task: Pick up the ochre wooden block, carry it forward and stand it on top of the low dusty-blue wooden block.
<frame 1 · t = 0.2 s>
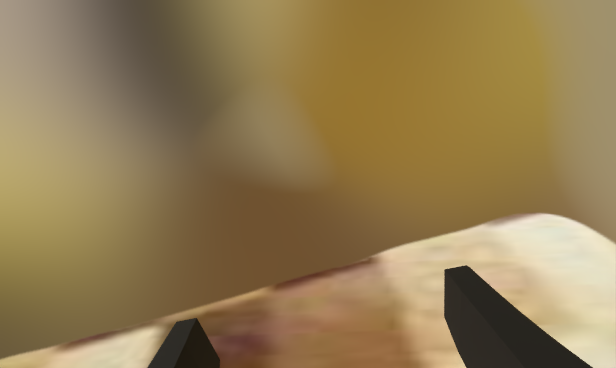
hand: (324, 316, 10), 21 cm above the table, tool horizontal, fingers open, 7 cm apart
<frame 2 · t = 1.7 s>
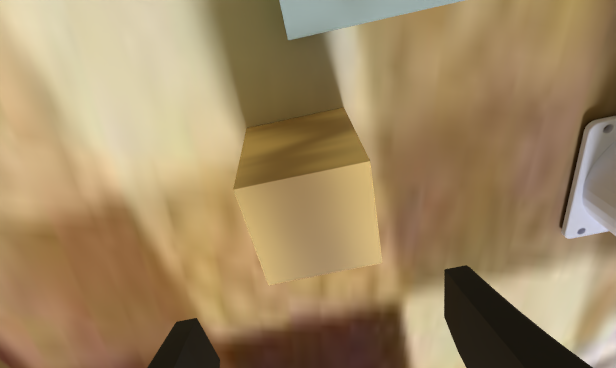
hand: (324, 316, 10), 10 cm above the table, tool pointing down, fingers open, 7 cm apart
ochre block: (304, 160, 19), on the table
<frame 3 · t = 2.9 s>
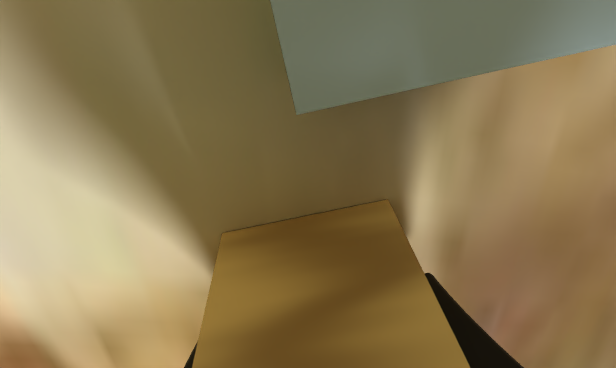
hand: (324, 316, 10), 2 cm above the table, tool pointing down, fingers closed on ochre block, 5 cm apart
ochre block: (319, 276, 12), on the table, touching gripper
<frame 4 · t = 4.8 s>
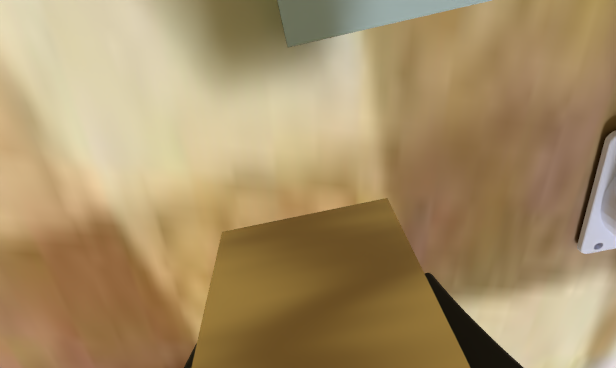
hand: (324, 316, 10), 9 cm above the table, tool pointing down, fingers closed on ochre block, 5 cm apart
ochre block: (319, 274, 12), point 7 cm above the table, touching gripper
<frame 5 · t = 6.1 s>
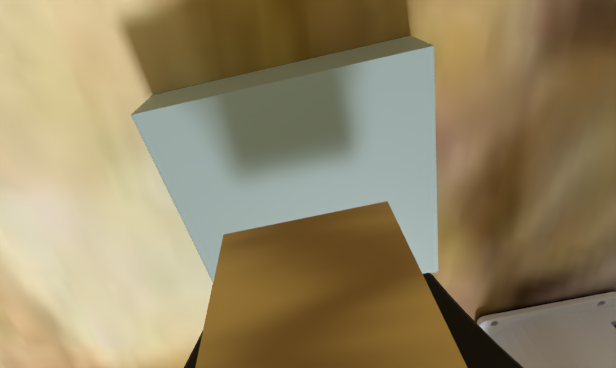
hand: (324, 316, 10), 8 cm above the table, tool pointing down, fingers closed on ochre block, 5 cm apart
base block: (305, 173, 18), on the table
ochre block: (319, 276, 12), point 7 cm above the table, touching gripper
when the fingers open (6 cm above the table, at t = 7.0 s): ochre block drops 2 cm, resting on base block.
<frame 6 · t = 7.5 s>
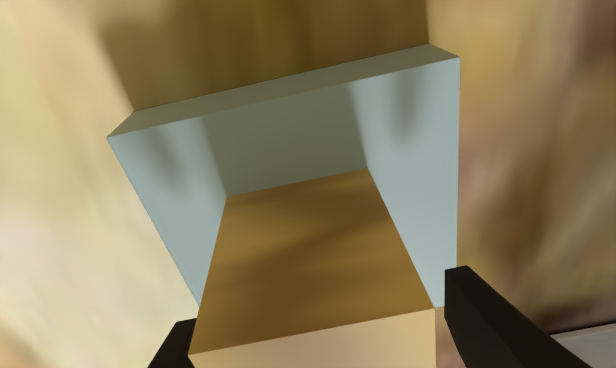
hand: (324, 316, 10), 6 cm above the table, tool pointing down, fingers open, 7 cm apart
base block: (308, 194, 16), on the table, touching ochre block
ochre block: (310, 237, 13), point 2 cm above the table, touching base block
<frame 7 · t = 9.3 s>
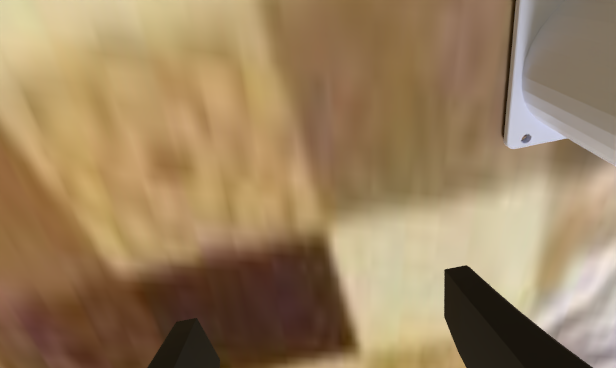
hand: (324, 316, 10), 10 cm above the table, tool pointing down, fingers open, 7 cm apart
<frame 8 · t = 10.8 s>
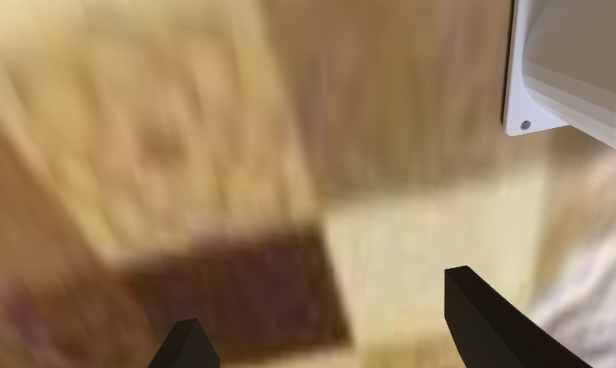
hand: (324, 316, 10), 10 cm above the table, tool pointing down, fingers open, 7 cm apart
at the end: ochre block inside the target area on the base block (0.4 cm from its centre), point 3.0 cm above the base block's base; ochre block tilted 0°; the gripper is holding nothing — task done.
